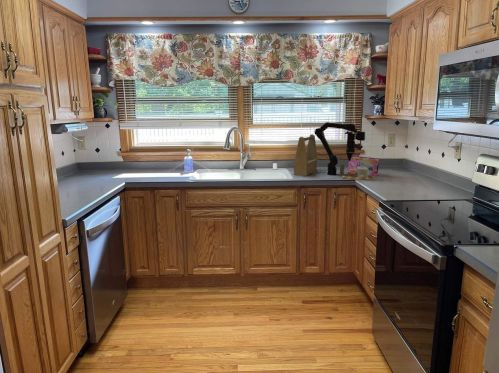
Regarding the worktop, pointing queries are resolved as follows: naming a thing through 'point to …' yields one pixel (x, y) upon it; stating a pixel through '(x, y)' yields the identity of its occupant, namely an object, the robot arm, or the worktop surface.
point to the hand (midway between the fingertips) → (349, 160)
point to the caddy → (305, 157)
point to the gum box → (365, 164)
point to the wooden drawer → (348, 172)
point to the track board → (361, 177)
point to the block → (352, 171)
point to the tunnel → (362, 171)
